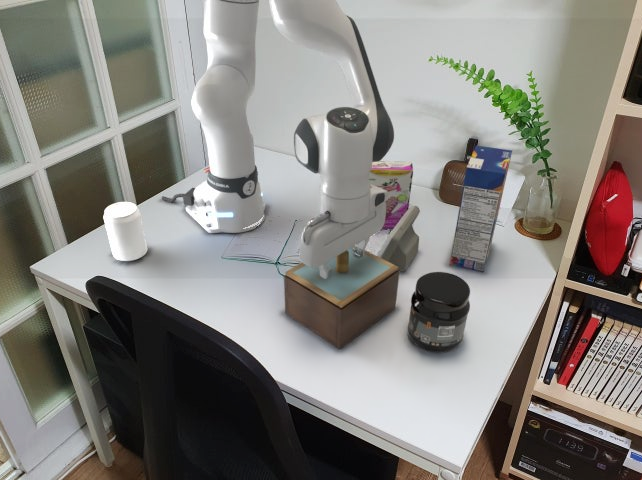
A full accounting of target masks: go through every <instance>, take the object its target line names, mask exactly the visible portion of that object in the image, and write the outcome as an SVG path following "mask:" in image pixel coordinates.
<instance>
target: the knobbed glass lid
mask: <svg viewBox="0 0 642 480" xmlns="http://www.w3.org/2000/svg"><path fill="white" fill-rule="evenodd" d="M354 247H356V245H355V246H353V247H351V248H350V249H348V250H346V251H345V252H343V253H341V254H340V255H338V256H336V257H335V258H333V259H331V260H330V261H328V265H326V266H327V267H329V268H331V269H332V275H331V276H330V277H328V278H327V279H324V278H322V277H321V276H320V269H319V267H318V268H316V269H313V268H311V267H309V266H307V265H305V264H304V263H302V262H300V263H299V264H297V265H295V266H293V267H292V268H290V269H288V270H286V271H285V272H284V276H285V275H287V276H288V277H290V278H292V279H294V280H295V281H297V282H299V283H300V284H302V285H304V286H305V287H307V288H309V289H310V290H312V291H314V292H315V293H317V294H319V295H320V296H322V297H324V298H326V299H327V300H329V301H331V302H332V303H334V304H336V305H337V306H339V307H341V308H342V307H344V306H345V305H346V304H348V303H349V302H351V301H352V300H354V299H355V298H357V297H358V296H360V295H361V294H363V293H364V292H366V291H367V290H369V289H370V288H372V287H373V286H375V285H376V284H377V283H379V282H380V281H382V280H383V279H385V278H386V277H388V276H389V275H391V274H392V273H394V272H395V271H397V270H398V268H399V267H398V266H396V265H394V264H392V263H390V262H388V261H386V260H384V259H382V258H380V257H378V256H377V255H375V254H374V253H372V252H369V251H367V250H366V249H365V252H364V256H362V257H360V258H357V257H354V256H353V248H354Z"/></svg>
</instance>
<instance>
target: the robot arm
mask: <svg viewBox="0 0 642 480" xmlns="http://www.w3.org/2000/svg"><path fill="white" fill-rule="evenodd" d="M267 1H268V6H269V10H270V15H271V18H272V19H271V20H272V21H273V22H272V23H273V25H274V26H275V28H276V30H277V31H278V33H280V34H281V36H282V37H284V38H285V39H286V40H288V41H289V42H290V43H293V44H295V45H297V46H299V47H302V48H306V49H309V50H314V51H316V52H320V53H323V54H324V55H327V56H329V57H330V58H332V59H333V60H334V61H335V62H336V63H337V64H338V65H339V67H340V68H341V70H342V75H343V77H344V80H345V83H346V86H347V89H348V93H349V95H350V99H351V101H352V105H353V107H350V106H340V107H339V106H338V107H335V108H332V109H330V110H329V111H327V112H326V113H321V114H317V115H310V116H308V117H305V118H302V119H301V121H300V122H299V123H298V125H297V127H296V129H295V130H294V133H293V150H294V155H295V159H296V161H297V162H298V164H300V165H301V166H303V167H304V168H306V170H308V171H310V172H312V173H314V174H319V175H320V178H321V182H320V186H319V211H320V214H319V215H317V216H316V217H314V218H311V219H309V221H308V222H307V224H306V225H305V227H304V228H303V230H302V232H301V236H300V241H299V243H300V244H299V254H298V255H299V256H298V257H299V261H300V263H304V264H305V265H307V266H309V267H311V268H313V269H316V268H318V267H319V269H320V276H321V277H322V278H324V279H327V278H328V277H330V276H331V275H332V269H331V268H329V267H327V266H326V265H328V261H330V260H331V259H333V258H335V257H336V256H338V255H340V254H341V253H343V252H345V251H346V250H348V249H350V248H351V247H353V246H356V247H354V248H353V256H354V257H357V258H360V257H362V256H364V252H365V250H366V248H367V247H368V246H367V245H368V244H369V242H370V237H372V236H373V235H375V234H377V233H378V232H380V231H381V230H383V228H382V227H383V225H384V223H385V216H386V203H385V201H386V200H387V196H388V192H387V191H386V190H384V189H382V188H380V187H377V186H375V185H373V184H370V181H369V174H370V171H371V168H372V162H378V161H382V160H383V159H384V157H386V156H387V154H388V152H390V149H391V148H392V146H393V144H394V141H395V130H394V125H393V122H392V119H391V117H390V115H389V112H388V111H387V109H386V107H385V105H384V103H383V100H382V97H381V94H380V91H379V88H378V85H377V81H376V79H375V75H374V72H373V68H372V66H371V63H370V60H369V56H368V53H367V50H366V47H365V44H364V41H363V39H362V36H361V33H360V31H359V28H358V26H357V23H356V22H355V20H354V19H353V18H352V17H350V16H349V15H347V14H346V13H345V12H344V11H343V10H342V8H341V7H340V5H339V4H338V2H337V0H267ZM259 6H260V0H204V7H203V24H202V25H203V29H202V32H203V36H204V39H205V44H206V53H207V67H206V70H205V73H204V74H202V76H201V77H200V78H199V80H197V82H196V84H195V86H194V88H193V92H192V97H191V109H192V112H193V114H194V116H195V118H196V119H197V121H199V122H200V126H201V128H202V131H203V134H204V137H205V142H206V149H207V156H208V163H209V166H208V167H206V168H204V169H203V170H204V172H203V173H204V174H206V173H207V177H206V180H204V181H203V182H202V183H200V184H199V185H197V186H196V187H191V188H190V189H189V190H187V192H186V193H176V194H174V195H173V197H172V198H169V197H167V196H161V200H163V201H165V202H168V203H174V202H175V201H176V200H177V199H178V198H182V201H183V205H184V206H186V207H185V212H186V213H188V215H190V217H191V218H192V219H193V220H194V221H196V222H197V223H198V224H199V225H200V226H201V227H202V228H203V229H204V230H205V231H206V232H207V233H209V234H218V233H226V234H227V233H228V234H238V233H246V232H249V231H252V230H254V229H257V228H258V227H260V226H259V225H258V224H259V223H258V224H257V225H258V227H257V225H255V226H253V227H250V228H246V229H243V228H245V227H248V226H250V225H252V224H254V223H256V222H258V221H259V220H260V219H261V218H262V217H263V215H264V217H263V219H262V221H261V222H263V221H264V222H265V219H266V215H265V211H266V208H267V207H266V206H267V205H266V203H265V202H264V201H263V196H264V195H263V192H262V189H261V185H260V181H259V177H258V176H259V171H258V167H257V165H256V158H255V157H256V156H255V143H254V142H255V141H254V136H253V134H252V133H251V130H250V126H249V122H248V117H247V105H248V102H249V100H250V98H251V97H252V95H253V93H254V91H255V85H256V65H257V63H256V59H257V57H256V38H257V37H256V35H257V28H258V27H257V26H258V17H259ZM261 222H260V223H261ZM264 222H263V223H264ZM256 227H257V228H256Z"/></svg>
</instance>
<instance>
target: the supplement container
mask: <svg viewBox="0 0 642 480" xmlns="http://www.w3.org/2000/svg"><path fill="white" fill-rule="evenodd" d="M470 296H471V288H470V285H469V283H467V281H465V280H464V279H463V278H462V277H461V276H458V275H456V274H453V273H450V272H446V271H433V272H432V271H431V272H428V273H425V274H422V276H420V277H418V279H417V280H416V284H415V290H414V291H413V293H412V295H411V298H410V309H409V310H410V311H409V318H408V323H407V334H408V336H409V339H410V340H411V341H412V342H413V344H415V345H416V346H417V347H419V348H420V349H423V350H425V351H428V352H432V353H446V352H450V351H453V350H455V349H457V347H459V346H460V345H461V343H462V342H463V340H464V336H465V330H466V326H467V325H466V324H467V320H468V316H469V313H470V310H471V303H470Z"/></svg>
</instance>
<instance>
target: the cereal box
mask: <svg viewBox="0 0 642 480" xmlns="http://www.w3.org/2000/svg"><path fill="white" fill-rule="evenodd" d="M512 155H513V149H505V148H497V147H491V146H483V145H477V144H476V145H475V147H474V150H473V151H472V154H471V156H470V159H469V161H468V164H467V165H466V167H465V174H464V179H463V181H464V182H463V185H462V191H461V197H460V203H459V209H458V214H457V218H456V219H457V220H456V224H455V232H454V237H453V241H452V247H451V254H450V259H449V266H451V267H456V268H461V269H465V270H470V271H474V272H478V273H479V272H480V273H484V271H485V268H486V264H487V261H488V257H489V254H490V250H491V247H492V243H493V240H494V239H493V238H494V234H495V229H496V224H497V221H498V216H499V212H500V207H501V202H502V199H503V195H504V194H503V193H504V189H505V185H506V180H507V176H508V172H509V167H510V163H511V158H512Z"/></svg>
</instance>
